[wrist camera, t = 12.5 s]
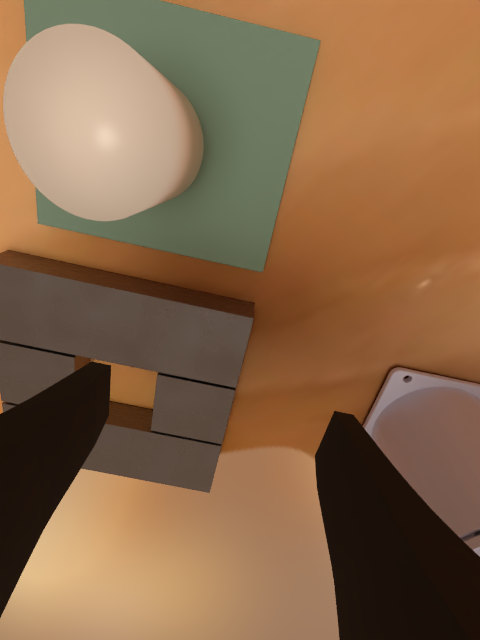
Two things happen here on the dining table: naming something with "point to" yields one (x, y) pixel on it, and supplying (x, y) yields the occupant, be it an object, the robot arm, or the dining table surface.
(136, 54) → the end cover
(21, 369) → the bore plate
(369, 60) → the dining table surface
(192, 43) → the mat
